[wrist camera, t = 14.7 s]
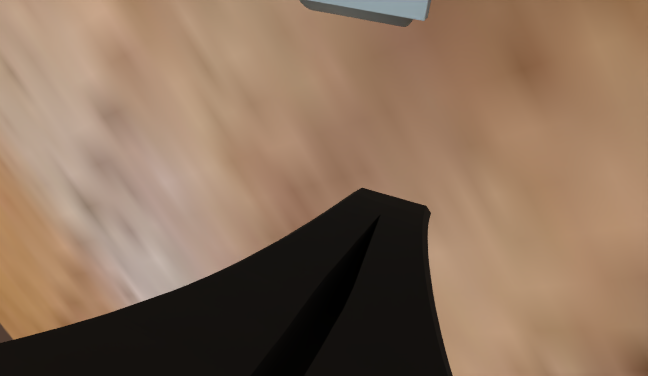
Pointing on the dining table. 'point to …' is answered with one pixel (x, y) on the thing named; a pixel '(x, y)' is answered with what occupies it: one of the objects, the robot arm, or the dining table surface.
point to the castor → (374, 9)
